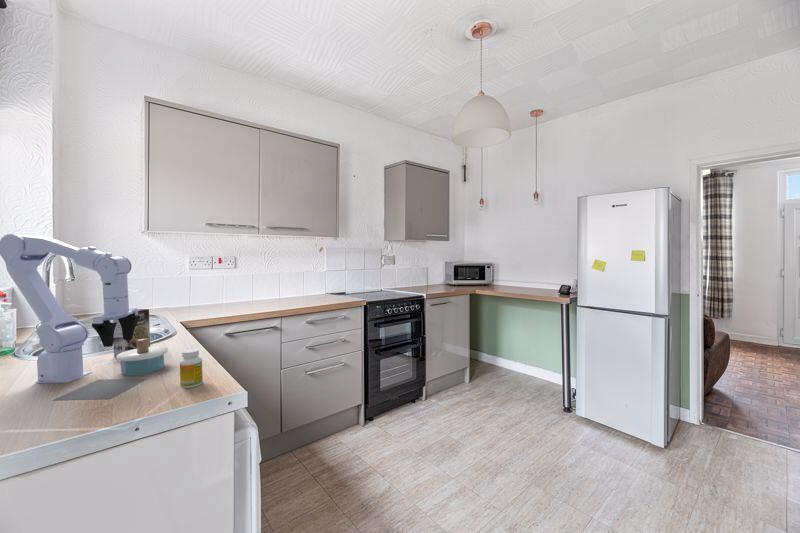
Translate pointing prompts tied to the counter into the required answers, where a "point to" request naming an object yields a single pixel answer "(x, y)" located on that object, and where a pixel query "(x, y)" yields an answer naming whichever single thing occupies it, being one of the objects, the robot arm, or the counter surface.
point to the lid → (142, 352)
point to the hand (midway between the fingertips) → (118, 342)
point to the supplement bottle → (191, 369)
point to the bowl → (142, 366)
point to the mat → (101, 389)
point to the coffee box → (139, 333)
